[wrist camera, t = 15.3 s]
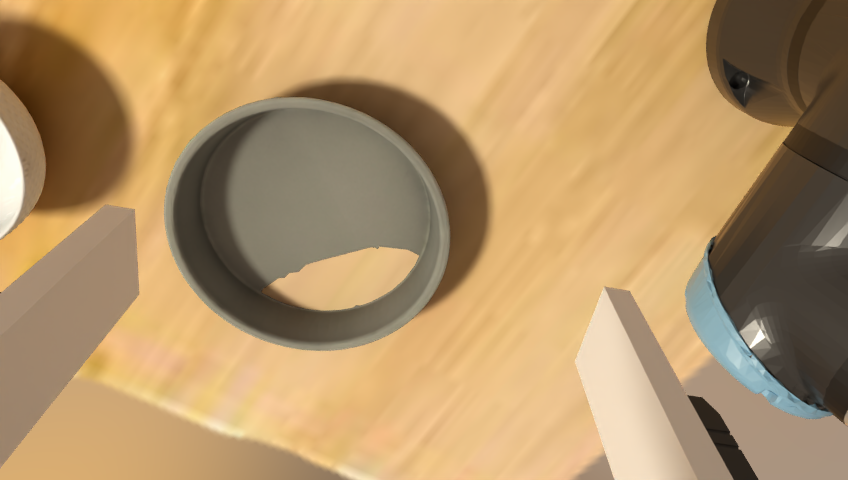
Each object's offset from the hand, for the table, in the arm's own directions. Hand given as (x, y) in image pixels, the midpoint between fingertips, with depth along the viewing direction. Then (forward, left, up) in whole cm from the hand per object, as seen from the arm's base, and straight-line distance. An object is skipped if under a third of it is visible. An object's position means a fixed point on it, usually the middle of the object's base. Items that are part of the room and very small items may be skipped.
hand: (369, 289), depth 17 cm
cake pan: (+6, +16, -35) cm, 39 cm away
